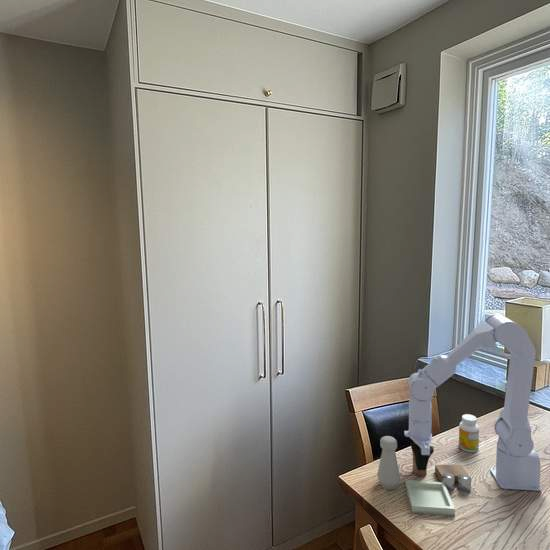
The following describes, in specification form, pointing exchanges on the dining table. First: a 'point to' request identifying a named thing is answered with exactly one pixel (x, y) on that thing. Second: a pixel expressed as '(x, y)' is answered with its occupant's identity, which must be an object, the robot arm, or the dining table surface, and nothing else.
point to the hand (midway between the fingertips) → (419, 464)
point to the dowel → (415, 471)
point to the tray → (429, 498)
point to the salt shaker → (388, 464)
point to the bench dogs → (463, 482)
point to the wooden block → (450, 471)
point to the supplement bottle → (469, 433)
